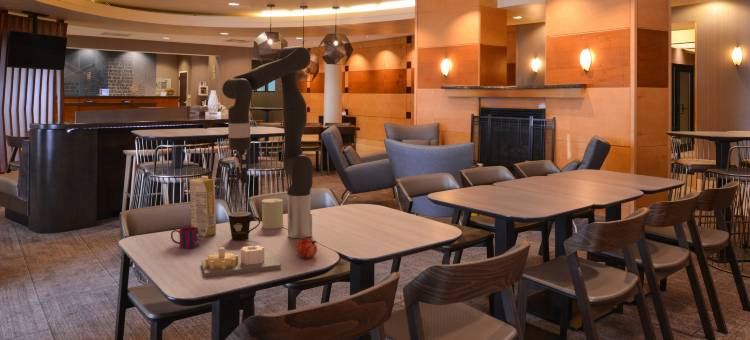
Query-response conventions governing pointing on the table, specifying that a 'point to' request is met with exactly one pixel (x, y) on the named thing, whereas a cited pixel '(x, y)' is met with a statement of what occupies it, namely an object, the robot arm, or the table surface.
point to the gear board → (235, 264)
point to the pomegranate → (306, 248)
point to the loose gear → (252, 255)
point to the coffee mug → (240, 225)
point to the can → (272, 213)
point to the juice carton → (203, 205)
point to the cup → (187, 237)
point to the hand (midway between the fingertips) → (241, 181)
